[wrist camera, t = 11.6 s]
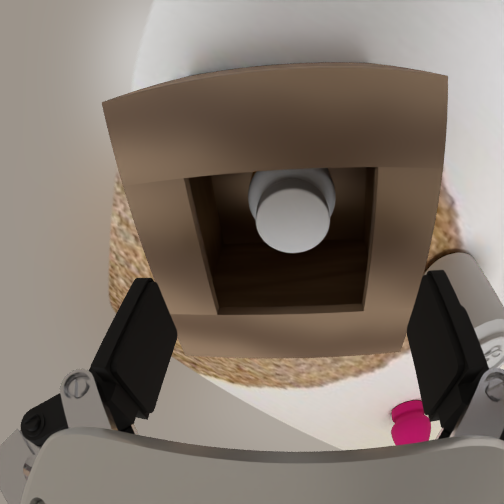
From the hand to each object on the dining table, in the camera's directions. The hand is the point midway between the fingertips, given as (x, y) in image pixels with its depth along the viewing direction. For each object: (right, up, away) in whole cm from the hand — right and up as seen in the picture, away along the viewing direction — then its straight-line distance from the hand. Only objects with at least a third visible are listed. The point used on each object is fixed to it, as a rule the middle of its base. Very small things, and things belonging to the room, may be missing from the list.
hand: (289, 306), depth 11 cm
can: (+20, -1, +19) cm, 28 cm away
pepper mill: (+27, -26, +36) cm, 52 cm away
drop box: (+2, +9, +14) cm, 17 cm away
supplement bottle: (+2, +9, +14) cm, 17 cm away
